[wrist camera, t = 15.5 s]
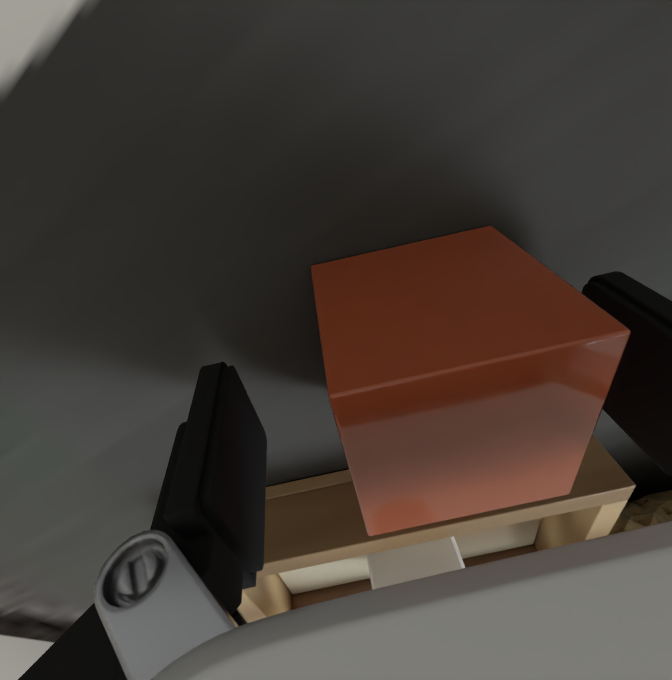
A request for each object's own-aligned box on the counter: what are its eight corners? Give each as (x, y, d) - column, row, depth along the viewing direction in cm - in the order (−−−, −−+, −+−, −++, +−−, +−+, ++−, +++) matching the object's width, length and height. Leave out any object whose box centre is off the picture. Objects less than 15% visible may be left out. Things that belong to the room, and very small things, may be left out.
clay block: (309, 264, 10) (327, 397, 6) (491, 223, 10) (634, 329, 6) (341, 392, 13) (368, 537, 9) (481, 362, 13) (570, 495, 9)
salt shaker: (359, 527, 17) (421, 893, 10) (443, 505, 17) (576, 864, 9) (376, 561, 20) (436, 876, 12) (450, 543, 19) (560, 853, 12)
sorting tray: (211, 498, 16) (198, 578, 13) (580, 418, 16) (637, 485, 13) (313, 635, 28) (316, 691, 25) (522, 592, 28) (545, 644, 25)
